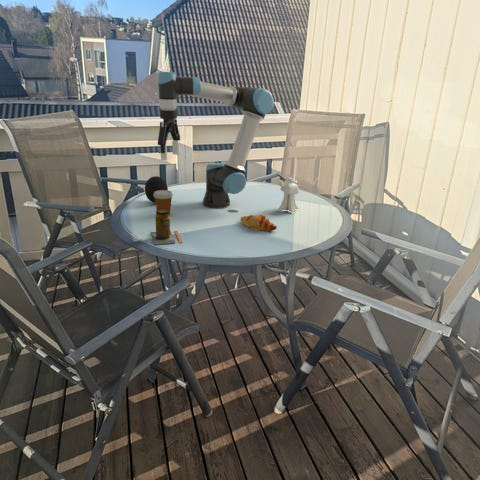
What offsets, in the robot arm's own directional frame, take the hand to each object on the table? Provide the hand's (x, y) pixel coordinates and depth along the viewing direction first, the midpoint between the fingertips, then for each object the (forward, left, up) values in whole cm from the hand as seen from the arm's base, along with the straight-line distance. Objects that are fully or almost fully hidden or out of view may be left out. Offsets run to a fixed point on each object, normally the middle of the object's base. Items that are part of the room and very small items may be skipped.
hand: (170, 157), depth 191 cm
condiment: (+7, +22, -31) cm, 39 cm away
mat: (+7, +22, -31) cm, 39 cm away
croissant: (-39, +16, -32) cm, 53 cm away
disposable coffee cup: (+3, -9, -32) cm, 33 cm away
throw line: (0, +22, -31) cm, 38 cm away
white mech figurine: (-64, -4, -32) cm, 72 cm away
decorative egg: (+4, -30, -32) cm, 44 cm away
